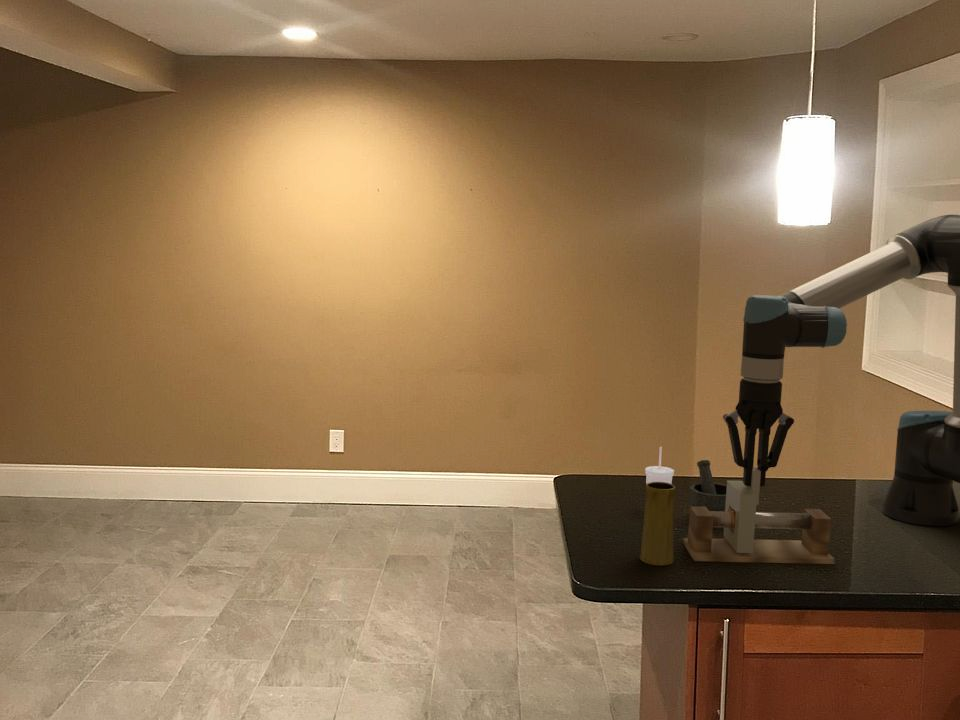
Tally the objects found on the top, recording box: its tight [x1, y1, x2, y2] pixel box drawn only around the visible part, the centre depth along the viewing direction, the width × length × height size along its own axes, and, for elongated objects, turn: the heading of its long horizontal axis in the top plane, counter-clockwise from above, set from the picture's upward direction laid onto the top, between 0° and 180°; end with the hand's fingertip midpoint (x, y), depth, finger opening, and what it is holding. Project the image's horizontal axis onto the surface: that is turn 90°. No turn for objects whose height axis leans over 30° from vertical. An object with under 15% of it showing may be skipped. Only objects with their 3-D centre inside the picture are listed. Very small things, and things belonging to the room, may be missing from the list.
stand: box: [682, 505, 836, 565], centre depth 186 cm, size 26×10×8 cm, turn 91°
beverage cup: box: [644, 446, 675, 486], centre depth 211 cm, size 6×6×14 cm
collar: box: [723, 479, 757, 553], centre depth 185 cm, size 3×10×11 cm, turn 1°
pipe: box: [709, 510, 812, 530], centre depth 185 cm, size 23×4×4 cm, turn 91°
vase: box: [639, 482, 676, 567], centre depth 180 cm, size 6×6×14 cm
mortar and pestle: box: [689, 459, 727, 511], centre depth 205 cm, size 11×9×12 cm
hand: (752, 502), depth 185 cm, fingers closed
